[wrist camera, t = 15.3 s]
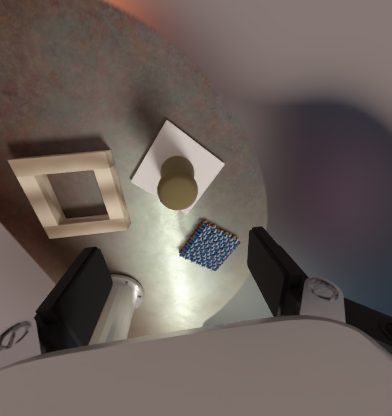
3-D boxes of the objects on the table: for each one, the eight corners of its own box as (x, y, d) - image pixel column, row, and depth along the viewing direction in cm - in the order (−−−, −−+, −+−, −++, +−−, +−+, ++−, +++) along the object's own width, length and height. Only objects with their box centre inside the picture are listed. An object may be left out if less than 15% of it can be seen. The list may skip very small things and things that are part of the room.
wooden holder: (130, 223, 34) (127, 229, 32) (58, 231, 33) (49, 238, 31) (110, 149, 28) (104, 151, 26) (21, 157, 27) (7, 160, 25)
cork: (153, 165, 29) (141, 184, 19) (185, 149, 29) (189, 160, 19) (170, 194, 32) (168, 224, 22) (200, 180, 31) (210, 204, 21)
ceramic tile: (186, 213, 35) (186, 214, 34) (131, 180, 31) (130, 181, 30) (224, 163, 31) (224, 164, 31) (167, 119, 27) (166, 119, 27)
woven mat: (214, 268, 42) (216, 274, 40) (177, 251, 39) (177, 257, 37) (241, 237, 39) (244, 242, 37) (202, 216, 36) (204, 221, 34)
